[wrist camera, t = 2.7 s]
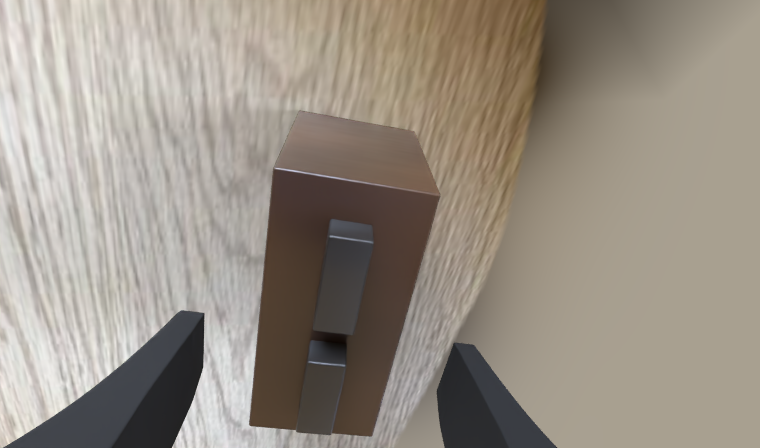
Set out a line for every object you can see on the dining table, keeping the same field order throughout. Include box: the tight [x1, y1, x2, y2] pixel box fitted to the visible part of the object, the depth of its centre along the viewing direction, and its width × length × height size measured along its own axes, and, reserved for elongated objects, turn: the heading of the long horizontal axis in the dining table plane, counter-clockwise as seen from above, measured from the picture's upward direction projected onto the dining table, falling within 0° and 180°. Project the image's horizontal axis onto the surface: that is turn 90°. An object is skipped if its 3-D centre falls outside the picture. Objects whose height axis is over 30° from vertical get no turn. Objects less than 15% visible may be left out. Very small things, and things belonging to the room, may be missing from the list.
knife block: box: [249, 111, 440, 437], centre depth 16 cm, size 4×10×7 cm, turn 169°
